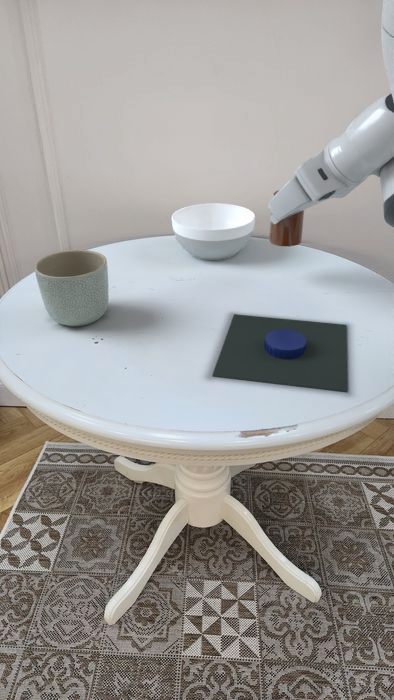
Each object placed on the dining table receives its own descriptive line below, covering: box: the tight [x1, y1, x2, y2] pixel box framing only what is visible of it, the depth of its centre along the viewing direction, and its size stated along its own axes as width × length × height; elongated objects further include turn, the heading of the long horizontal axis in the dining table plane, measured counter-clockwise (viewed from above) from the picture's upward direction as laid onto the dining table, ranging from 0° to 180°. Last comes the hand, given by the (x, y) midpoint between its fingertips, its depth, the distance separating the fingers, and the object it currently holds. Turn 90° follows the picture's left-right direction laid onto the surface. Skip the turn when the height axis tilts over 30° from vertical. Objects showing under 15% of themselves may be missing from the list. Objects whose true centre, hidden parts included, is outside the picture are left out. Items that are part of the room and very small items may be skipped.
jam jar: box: [268, 189, 305, 248], centre depth 104 cm, size 6×6×10 cm
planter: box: [34, 249, 110, 328], centre depth 96 cm, size 12×12×11 cm
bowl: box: [171, 202, 256, 261], centre depth 122 cm, size 19×19×9 cm
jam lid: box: [264, 329, 306, 359], centre depth 87 cm, size 7×7×2 cm
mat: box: [212, 313, 348, 393], centre depth 88 cm, size 20×20×1 cm
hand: (285, 215), depth 104 cm, fingers closed on jam jar, 6 cm apart
